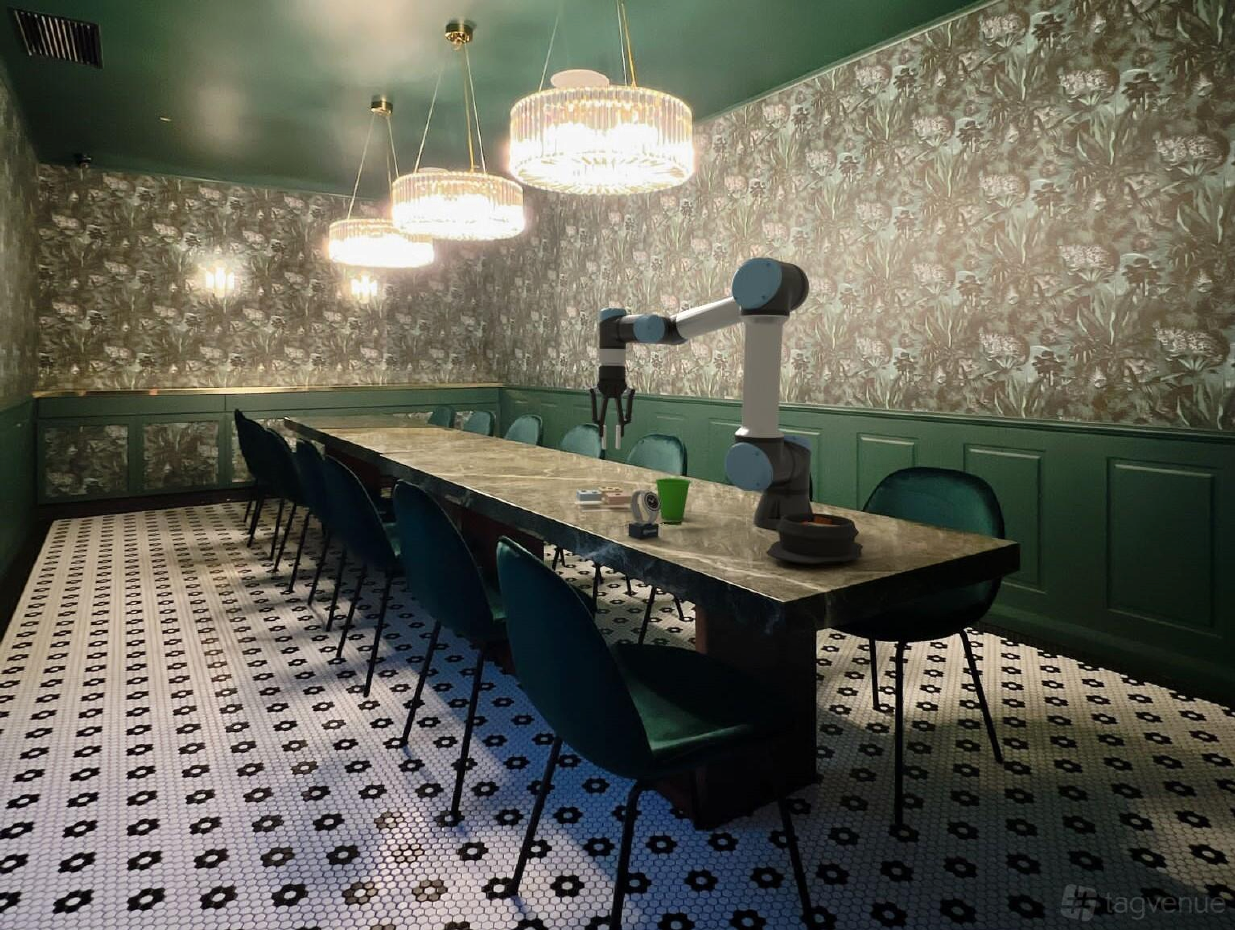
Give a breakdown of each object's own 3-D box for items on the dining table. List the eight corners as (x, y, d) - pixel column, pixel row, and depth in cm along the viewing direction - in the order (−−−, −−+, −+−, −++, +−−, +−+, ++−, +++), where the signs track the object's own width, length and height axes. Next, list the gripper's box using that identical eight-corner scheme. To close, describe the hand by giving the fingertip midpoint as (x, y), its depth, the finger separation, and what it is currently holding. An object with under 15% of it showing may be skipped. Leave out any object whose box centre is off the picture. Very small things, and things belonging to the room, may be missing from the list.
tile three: (622, 497, 211) (622, 489, 211) (601, 497, 210) (602, 489, 210) (618, 493, 217) (618, 486, 217) (597, 494, 216) (597, 486, 216)
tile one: (631, 503, 202) (631, 495, 201) (609, 504, 200) (609, 495, 200) (626, 499, 207) (626, 491, 207) (604, 500, 206) (604, 492, 206)
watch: (646, 541, 171) (647, 493, 170) (623, 534, 178) (624, 489, 176) (664, 538, 175) (665, 491, 173) (641, 532, 181) (642, 487, 180)
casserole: (806, 541, 174) (808, 506, 173) (883, 556, 161) (886, 518, 160) (744, 560, 156) (746, 520, 155) (826, 578, 143) (828, 535, 142)
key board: (637, 515, 201) (637, 510, 201) (582, 517, 198) (582, 511, 197) (622, 503, 219) (622, 498, 219) (571, 504, 216) (571, 499, 216)
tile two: (601, 500, 205) (601, 492, 205) (580, 501, 204) (580, 493, 203) (597, 497, 211) (597, 489, 211) (576, 497, 210) (576, 489, 209)
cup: (687, 527, 187) (689, 484, 185) (651, 525, 189) (652, 482, 187) (691, 520, 196) (692, 479, 194) (657, 518, 197) (658, 477, 196)
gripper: (637, 365, 214) (636, 447, 217) (580, 364, 211) (580, 447, 214) (644, 365, 207) (642, 450, 210) (585, 364, 204) (584, 450, 206)
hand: (610, 448), depth 212 cm, fingers open, 3 cm apart
